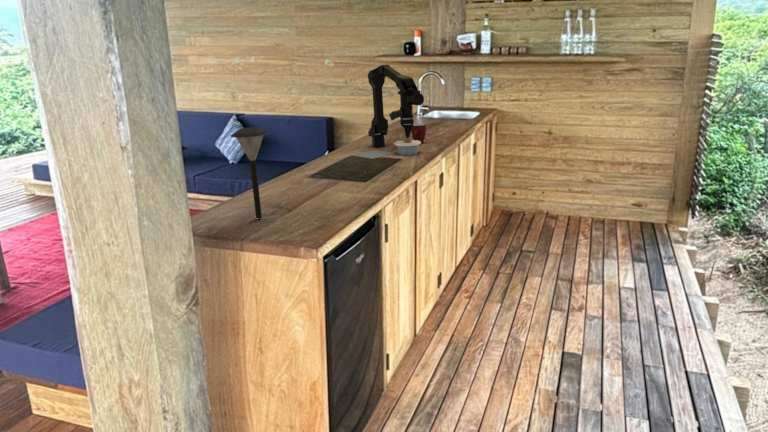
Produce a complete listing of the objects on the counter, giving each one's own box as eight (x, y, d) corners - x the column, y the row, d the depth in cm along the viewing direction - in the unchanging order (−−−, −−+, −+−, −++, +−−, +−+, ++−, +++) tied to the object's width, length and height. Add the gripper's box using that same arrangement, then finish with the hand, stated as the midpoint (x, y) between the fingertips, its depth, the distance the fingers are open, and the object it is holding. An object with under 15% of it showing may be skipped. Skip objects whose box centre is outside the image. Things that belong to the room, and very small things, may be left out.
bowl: (393, 154, 295) (392, 144, 294) (408, 151, 302) (408, 141, 300) (407, 156, 288) (407, 146, 286) (422, 153, 295) (422, 143, 293)
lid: (388, 144, 294) (388, 134, 292) (407, 140, 302) (407, 131, 301) (407, 147, 285) (407, 137, 283) (426, 143, 293) (426, 133, 292)
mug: (424, 145, 316) (423, 126, 313) (409, 145, 318) (408, 126, 315) (427, 141, 325) (427, 123, 323) (413, 141, 327) (412, 123, 325)
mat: (350, 156, 296) (350, 154, 296) (374, 151, 306) (374, 149, 306) (372, 159, 285) (372, 158, 285) (396, 154, 295) (396, 153, 295)
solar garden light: (278, 222, 194) (269, 130, 185) (239, 226, 192) (228, 133, 183) (277, 212, 205) (268, 124, 197) (240, 216, 203) (229, 127, 194)
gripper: (390, 102, 297) (391, 134, 302) (389, 107, 279) (390, 140, 284) (412, 101, 297) (413, 133, 301) (413, 106, 279) (414, 139, 283)
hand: (407, 136), depth 292 cm, fingers open, 9 cm apart
